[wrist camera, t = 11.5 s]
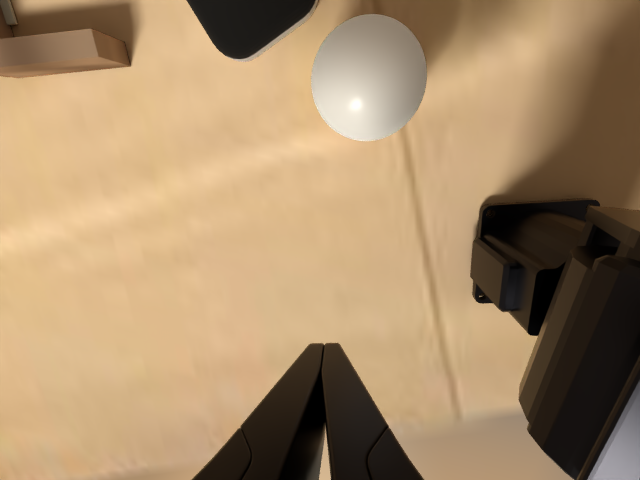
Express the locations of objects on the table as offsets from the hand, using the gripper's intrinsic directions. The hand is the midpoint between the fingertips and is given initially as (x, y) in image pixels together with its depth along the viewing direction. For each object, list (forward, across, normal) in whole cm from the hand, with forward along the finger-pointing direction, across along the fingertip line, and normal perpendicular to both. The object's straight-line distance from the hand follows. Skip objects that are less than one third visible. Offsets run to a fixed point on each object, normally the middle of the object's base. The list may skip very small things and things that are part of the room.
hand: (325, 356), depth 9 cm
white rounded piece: (+12, -2, -8) cm, 15 cm away
